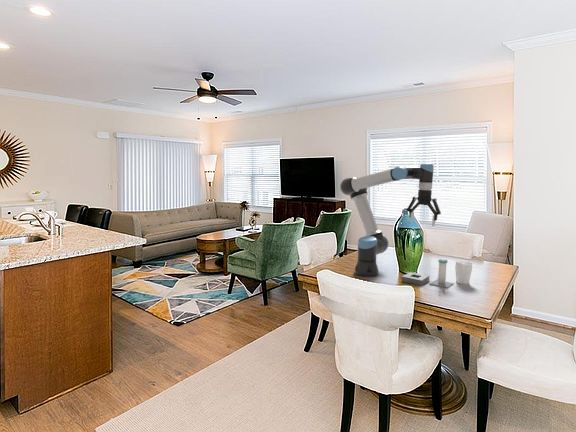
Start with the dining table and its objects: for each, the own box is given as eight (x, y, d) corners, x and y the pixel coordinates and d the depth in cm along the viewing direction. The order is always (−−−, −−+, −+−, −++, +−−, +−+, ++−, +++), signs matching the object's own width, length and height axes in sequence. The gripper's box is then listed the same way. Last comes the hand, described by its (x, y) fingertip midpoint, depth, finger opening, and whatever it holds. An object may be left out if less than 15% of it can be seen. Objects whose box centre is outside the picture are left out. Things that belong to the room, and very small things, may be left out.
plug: (435, 283, 212) (437, 260, 210) (439, 281, 215) (440, 258, 213) (443, 285, 208) (445, 261, 207) (447, 283, 212) (448, 260, 210)
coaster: (429, 284, 212) (429, 283, 211) (436, 280, 219) (436, 279, 219) (447, 288, 205) (447, 287, 205) (453, 284, 212) (453, 283, 212)
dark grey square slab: (401, 281, 218) (401, 276, 218) (410, 276, 227) (410, 272, 226) (421, 285, 210) (421, 280, 210) (429, 280, 219) (429, 275, 218)
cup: (461, 285, 210) (463, 265, 208) (450, 280, 218) (452, 261, 217) (474, 284, 212) (476, 264, 211) (463, 279, 221) (464, 260, 219)
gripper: (402, 188, 223) (400, 222, 226) (443, 191, 206) (440, 227, 209) (408, 187, 228) (405, 220, 232) (448, 190, 211) (445, 226, 215)
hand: (422, 224), depth 220 cm, fingers open, 13 cm apart
